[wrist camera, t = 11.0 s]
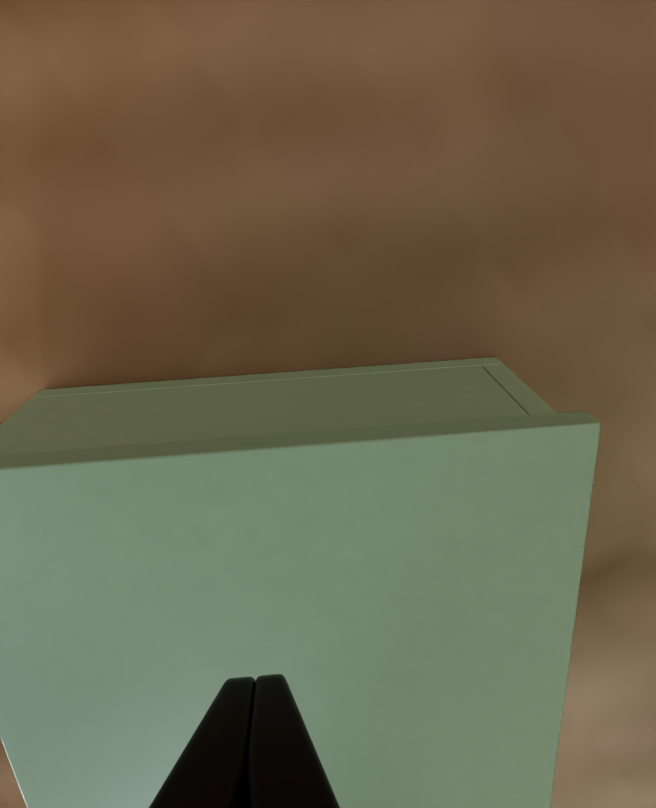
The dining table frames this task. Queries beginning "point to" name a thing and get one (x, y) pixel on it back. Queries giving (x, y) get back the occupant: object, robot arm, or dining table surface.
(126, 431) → the keepsake box
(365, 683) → the lid
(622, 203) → the dining table surface
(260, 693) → the robot arm
